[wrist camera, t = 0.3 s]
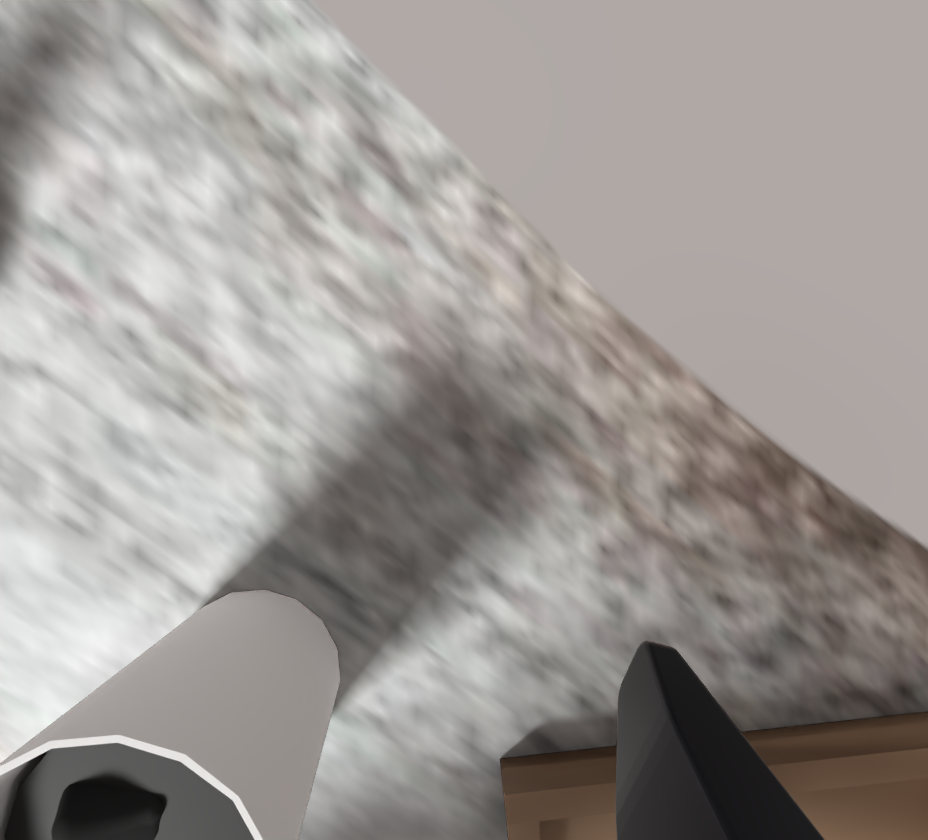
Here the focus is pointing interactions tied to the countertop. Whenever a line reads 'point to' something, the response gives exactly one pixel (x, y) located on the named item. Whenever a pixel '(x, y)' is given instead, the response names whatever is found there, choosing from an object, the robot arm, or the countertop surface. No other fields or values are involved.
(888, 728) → the walnut tray
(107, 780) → the white cylinder
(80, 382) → the countertop surface
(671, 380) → the countertop surface
